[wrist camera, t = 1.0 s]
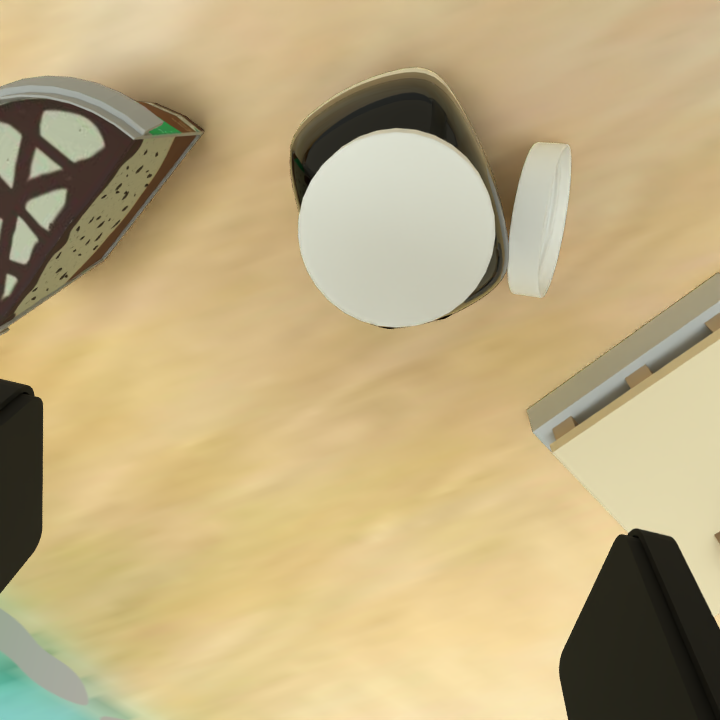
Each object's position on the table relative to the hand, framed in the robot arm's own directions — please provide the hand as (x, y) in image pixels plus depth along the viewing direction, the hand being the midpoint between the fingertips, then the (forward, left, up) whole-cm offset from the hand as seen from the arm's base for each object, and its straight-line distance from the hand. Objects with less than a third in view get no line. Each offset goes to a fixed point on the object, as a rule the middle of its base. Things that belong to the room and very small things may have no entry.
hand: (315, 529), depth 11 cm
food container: (+9, -12, -26) cm, 30 cm away
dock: (-4, +21, -26) cm, 33 cm away
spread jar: (-3, +1, -26) cm, 26 cm away
